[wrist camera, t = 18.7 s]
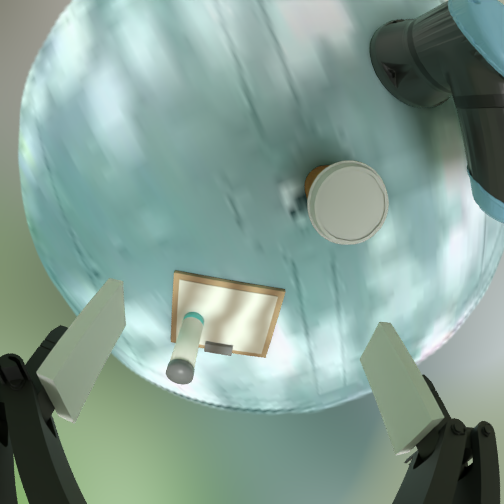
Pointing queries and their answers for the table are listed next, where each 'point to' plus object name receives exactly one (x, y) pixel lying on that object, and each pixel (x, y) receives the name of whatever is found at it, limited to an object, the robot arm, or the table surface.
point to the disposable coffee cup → (346, 201)
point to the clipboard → (227, 313)
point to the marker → (186, 349)
